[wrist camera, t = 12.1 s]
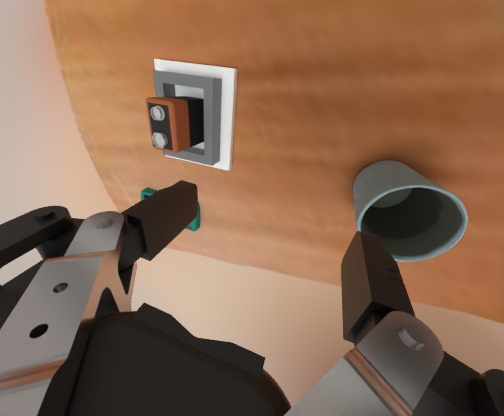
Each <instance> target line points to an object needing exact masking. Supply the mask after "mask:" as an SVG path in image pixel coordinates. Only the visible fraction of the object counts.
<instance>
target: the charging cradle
mask: <svg viewBox="0 0 504 416" xmlns="http://www.w3.org/2000/svg"><path fill="white" fill-rule="evenodd" d="M154 62H155V70H153V76H154V84H155V92H156V97H174V96H188V97H195V98H201V99H204V142H202V143H200V144H197V145H195V146H193V147H190V148H188V149H185V150H183V151H181V152H178V153H173V152H168V151H164V150H163V155H165V156H168V157H172V158H177V159H181V160H185V161H189V162H194V163H198V164H202V165H207V166H211V167H215V168H219V169H224V170H228V171H230V170H231V169H232V156H233V139H234V123H235V107H236V90H237V74H238V69H235V68H226V67H218V66H210V65H201V64H193V63H185V62H176V61H168V60H160V59H154Z"/></svg>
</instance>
